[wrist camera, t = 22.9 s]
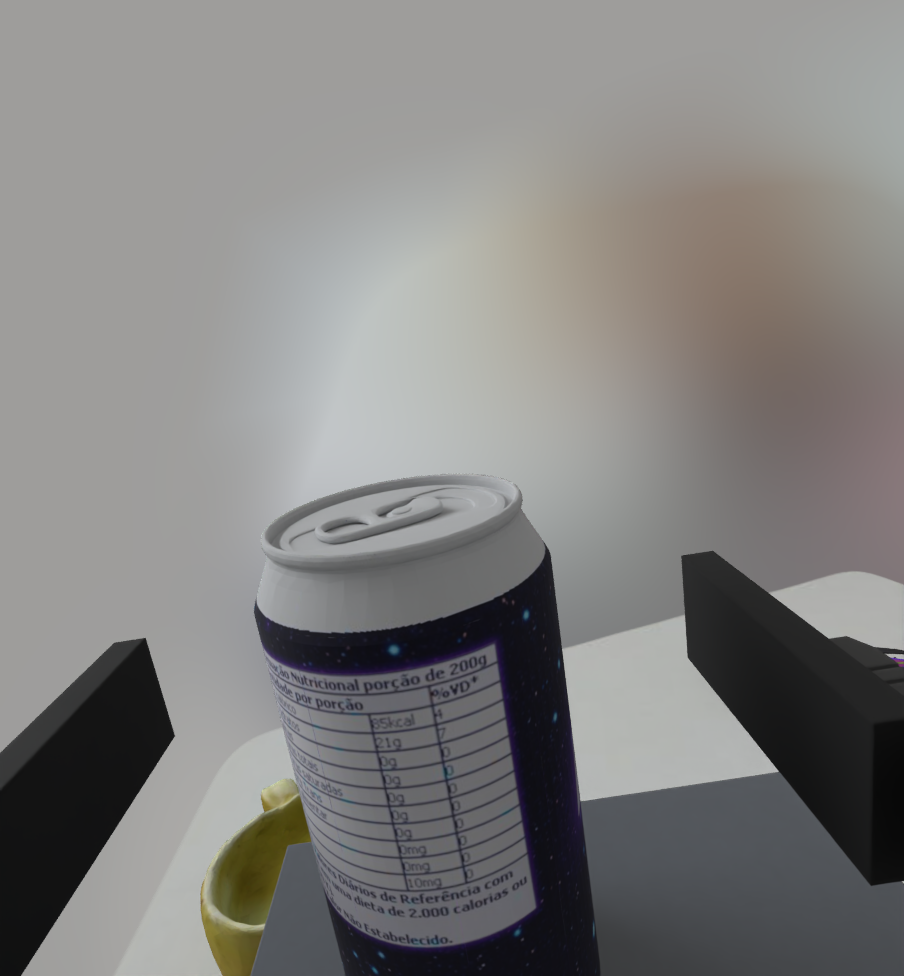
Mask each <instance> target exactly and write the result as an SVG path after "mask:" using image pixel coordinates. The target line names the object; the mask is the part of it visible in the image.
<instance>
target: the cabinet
mask: <svg viewBox="0 0 904 976" xmlns="http://www.w3.org/2000/svg"><path fill="white" fill-rule="evenodd" d="M581 810H582V818H583V827H584V835H585V843H586V851H587V860H588V868H589V876H590V884H591V893H592V901H593V909H594V918H595V926H596V934H597V942H598V951H599V959H600V976H904V884H903V883H902V881H900V882H893V883H887V884H880V885H874V886H871V885H870V884H869V883H868V882H867V880H866V879H865V878H864V877H863V876H862V874H861V873H860V872H859V871H858V869H857V868H856V867H855V866H854V864H853V863H852V862H851V861H850V859H849V858H848V857H847V856H846V854H845V853H844V852H843V851H842V849H841V848H840V847H839V846H838V844H837V843H836V842H835V841H834V839H833V838H832V837H831V836H830V834H829V833H828V832H827V831H826V829H825V828H824V827H823V826H822V824H821V823H820V822H819V821H818V819H817V818H816V817H815V816H814V814H813V813H812V812H811V811H810V809H809V808H808V807H807V806H806V804H805V803H804V802H803V801H802V799H801V798H800V797H799V796H798V794H797V793H796V792H795V791H794V789H793V788H792V787H791V786H790V784H789V783H788V782H787V781H786V779H785V778H784V777H783V776H782V774H781V773H780V772H775V773H768V774H762V775H755V776H748V777H742V778H735V779H728V780H722V781H715V782H708V783H702V784H695V785H688V786H681V787H675V788H668V789H661V790H655V791H648V792H641V793H635V794H628V795H621V796H615V797H608V798H601V799H595V800H588V801H581ZM250 976H345V972H344V968H343V964H342V960H341V956H340V952H339V948H338V944H337V940H336V936H335V932H334V928H333V924H332V920H331V916H330V913H329V909H328V905H327V901H326V897H325V893H324V889H323V885H322V881H321V877H320V873H319V869H318V865H317V861H316V857H315V853H314V849H313V845H312V842H307V843H300V844H294V845H289V846H288V847H287V850H286V854H285V857H284V861H283V864H282V868H281V871H280V875H279V878H278V881H277V885H276V888H275V892H274V895H273V899H272V902H271V906H270V909H269V913H268V916H267V920H266V923H265V927H264V930H263V934H262V937H261V941H260V944H259V947H258V951H257V954H256V958H255V961H254V965H253V968H252V972H251V975H250Z"/></svg>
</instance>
